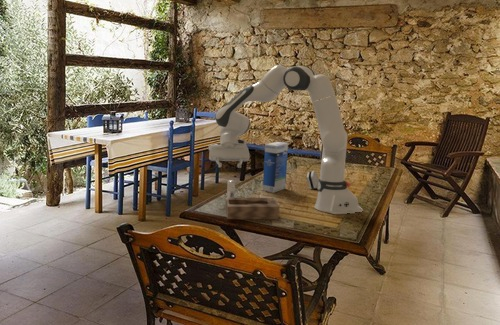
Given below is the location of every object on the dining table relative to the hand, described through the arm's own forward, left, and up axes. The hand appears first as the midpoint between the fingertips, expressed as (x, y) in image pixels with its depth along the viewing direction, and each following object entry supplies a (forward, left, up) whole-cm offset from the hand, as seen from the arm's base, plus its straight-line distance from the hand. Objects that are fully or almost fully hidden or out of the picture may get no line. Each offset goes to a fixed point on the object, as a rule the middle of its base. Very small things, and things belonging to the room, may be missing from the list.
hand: (229, 167), depth 210 cm
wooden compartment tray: (-8, +25, -16) cm, 31 cm away
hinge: (-52, -29, -17) cm, 62 cm away
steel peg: (0, +12, -16) cm, 20 cm away
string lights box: (-27, -20, -16) cm, 37 cm away
